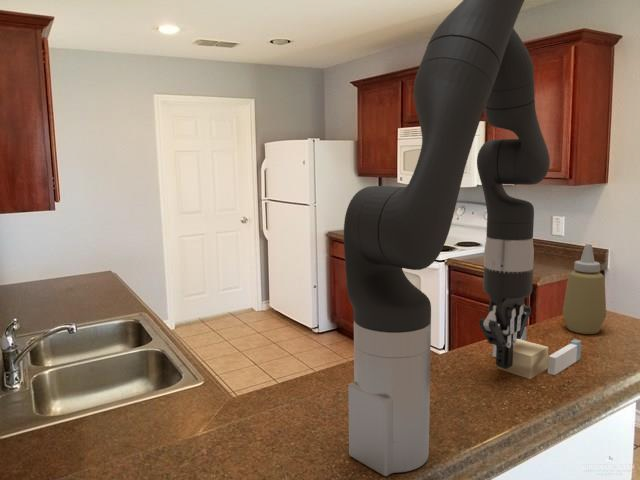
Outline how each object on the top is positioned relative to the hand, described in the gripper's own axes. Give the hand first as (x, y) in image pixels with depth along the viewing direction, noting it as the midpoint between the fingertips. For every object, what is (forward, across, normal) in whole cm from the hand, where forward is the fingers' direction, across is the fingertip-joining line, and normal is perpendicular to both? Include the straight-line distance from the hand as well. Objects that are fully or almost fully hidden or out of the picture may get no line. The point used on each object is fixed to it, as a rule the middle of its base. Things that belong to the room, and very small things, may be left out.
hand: (504, 366), depth 87 cm
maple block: (+2, +5, -1) cm, 5 cm away
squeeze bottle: (+2, +32, 0) cm, 32 cm away
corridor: (+2, +11, 0) cm, 11 cm away
